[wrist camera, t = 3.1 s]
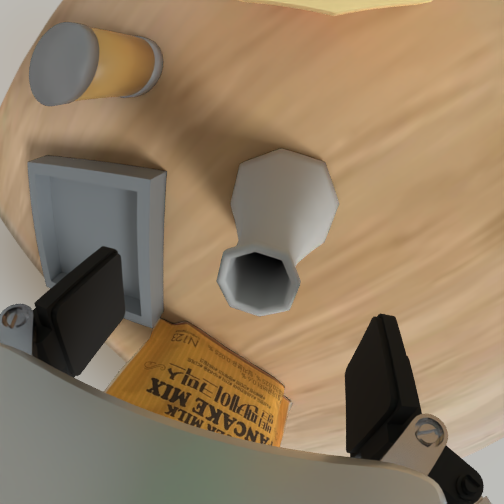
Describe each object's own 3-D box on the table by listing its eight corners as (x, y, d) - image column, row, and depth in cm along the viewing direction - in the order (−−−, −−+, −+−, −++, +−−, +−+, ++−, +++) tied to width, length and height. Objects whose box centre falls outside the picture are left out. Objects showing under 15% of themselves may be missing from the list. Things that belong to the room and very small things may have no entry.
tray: (46, 155, 22) (27, 161, 20) (166, 171, 21) (150, 179, 19) (60, 274, 28) (46, 286, 26) (163, 311, 27) (152, 328, 25)
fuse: (114, 39, 17) (34, 31, 10) (167, 36, 16) (93, 14, 9) (106, 96, 19) (26, 107, 12) (158, 98, 18) (81, 105, 11)
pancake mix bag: (275, 419, 32) (218, 635, 8) (132, 330, 29) (-7, 553, 5) (316, 398, 29) (268, 654, 4) (157, 293, 26) (-20, 571, 2)
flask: (339, 147, 18) (362, 189, 9) (336, 251, 21) (344, 356, 12) (226, 149, 19) (152, 193, 11) (236, 249, 23) (186, 343, 14)
